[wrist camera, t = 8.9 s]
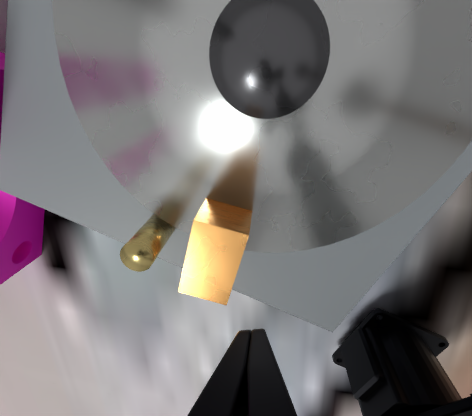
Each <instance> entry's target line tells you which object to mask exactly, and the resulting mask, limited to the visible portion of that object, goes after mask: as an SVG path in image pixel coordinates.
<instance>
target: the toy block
mask: <svg viewBox="0 0 472 416" xmlns="http://www.w3.org/2000/svg"><path fill="white" fill-rule="evenodd" d="M4 66H5V54H4V53H2V52H0V144H1V124H2V105H3V86H4ZM44 212H45V209H43V208H41V207H38V206H36V205H34V204H31V203H29V202H27V201H24V200H22V199H20V198H17V197H15V196H13V195H10V194H8V193H6V192H3V191H1V190H0V284H2V283H3V282H4V281H6V280H7V279H9V278H10V277H11V276H13V275H14V274H15V273H17V272H18V271H20V270H21V269H22V268H24V267H25V266H26V265H28V264H29V263H31V262H32V261H33V260H35V259H36V258H37V257H39V256H40V255H42V241H43V226H44Z"/></svg>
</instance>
